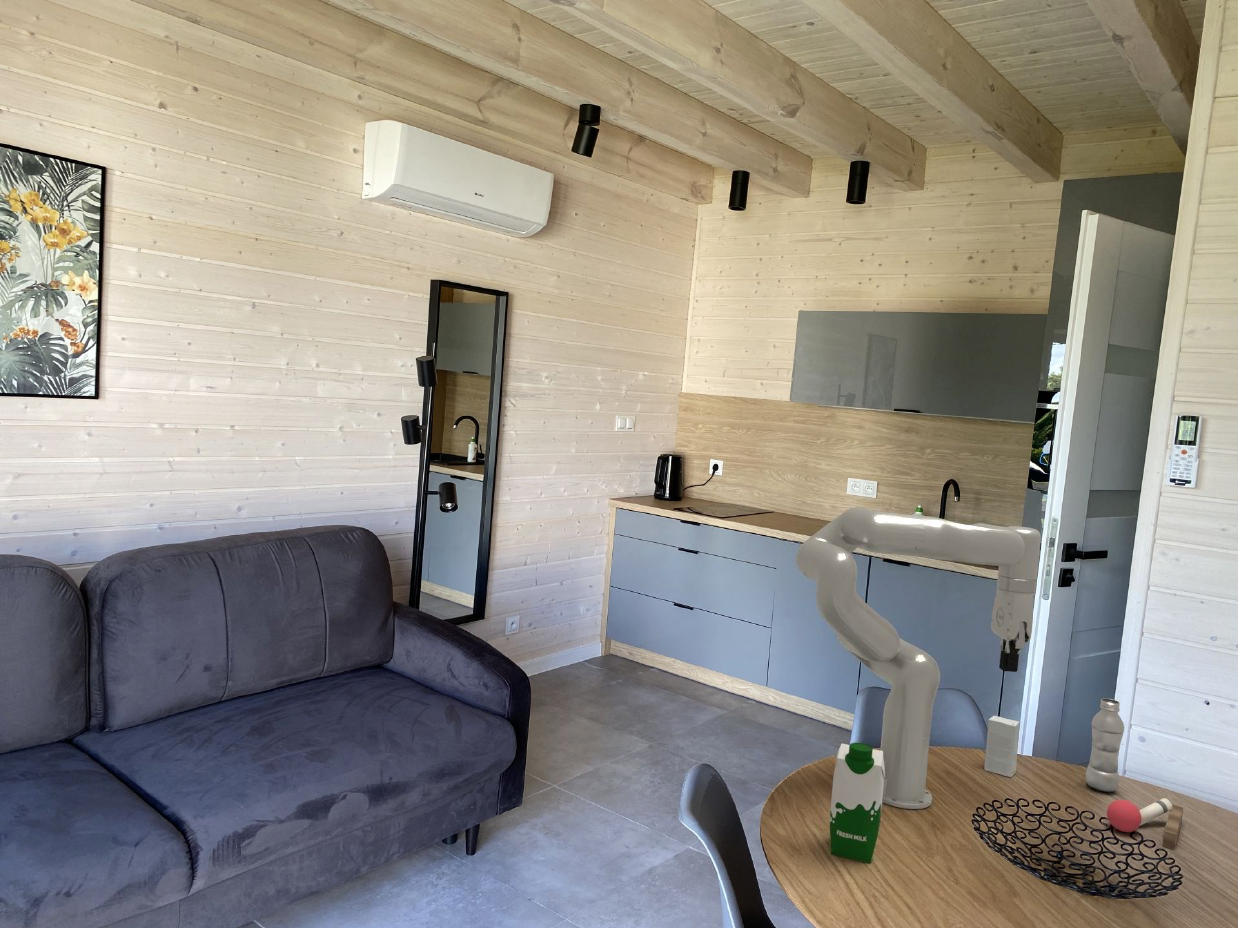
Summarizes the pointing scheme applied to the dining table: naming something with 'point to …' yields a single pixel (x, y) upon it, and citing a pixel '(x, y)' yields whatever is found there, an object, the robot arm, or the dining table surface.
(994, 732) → the skincare box
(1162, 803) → the pin
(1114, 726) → the plastic bottle
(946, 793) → the dining table surface
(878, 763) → the milk carton
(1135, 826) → the ball
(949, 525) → the robot arm
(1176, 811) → the board
